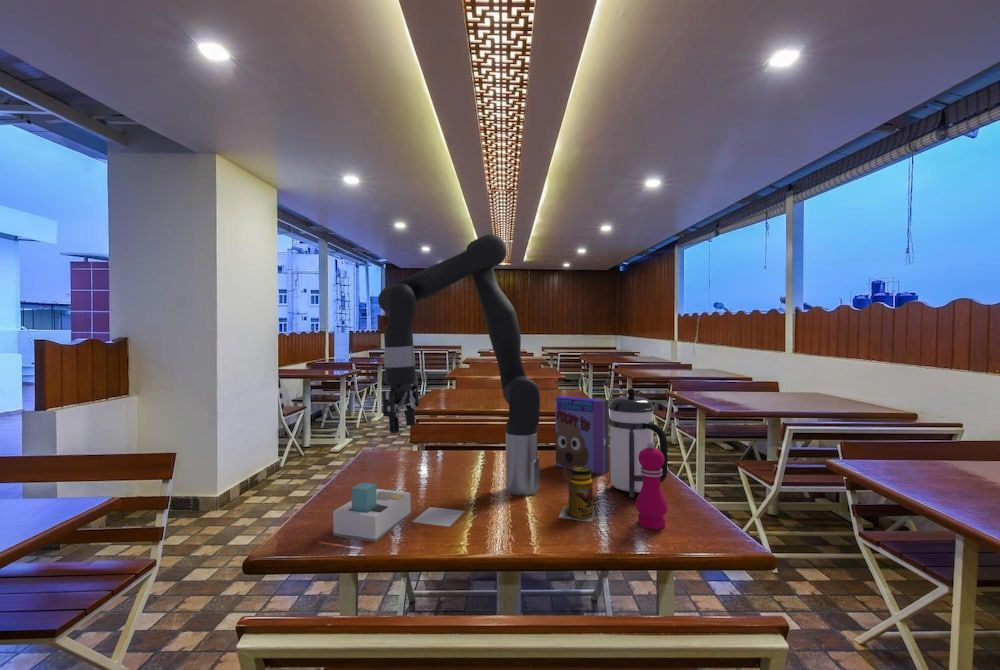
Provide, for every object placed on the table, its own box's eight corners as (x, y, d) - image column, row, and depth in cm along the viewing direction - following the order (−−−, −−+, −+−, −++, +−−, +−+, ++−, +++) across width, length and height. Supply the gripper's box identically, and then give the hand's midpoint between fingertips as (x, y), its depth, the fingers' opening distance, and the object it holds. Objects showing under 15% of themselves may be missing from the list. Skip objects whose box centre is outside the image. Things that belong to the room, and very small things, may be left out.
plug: (376, 526, 109) (376, 484, 109) (367, 533, 106) (366, 489, 105) (361, 524, 111) (361, 482, 110) (351, 531, 107) (351, 487, 107)
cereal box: (555, 466, 161) (555, 397, 160) (562, 463, 164) (561, 395, 164) (603, 474, 151) (603, 401, 150) (608, 471, 154) (608, 399, 154)
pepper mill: (663, 533, 107) (663, 446, 107) (632, 526, 111) (631, 442, 111) (670, 522, 113) (670, 440, 113) (640, 516, 117) (640, 436, 117)
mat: (464, 512, 120) (464, 511, 120) (449, 528, 110) (449, 526, 110) (429, 508, 123) (429, 506, 123) (411, 523, 113) (411, 521, 113)
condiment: (592, 522, 113) (592, 473, 113) (558, 518, 116) (558, 470, 116) (595, 511, 120) (595, 465, 120) (563, 507, 123) (562, 462, 123)
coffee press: (601, 498, 129) (601, 391, 129) (608, 480, 144) (608, 384, 144) (667, 505, 124) (667, 393, 123) (667, 486, 139) (667, 386, 138)
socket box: (410, 516, 118) (410, 491, 118) (375, 543, 103) (375, 515, 102) (372, 511, 121) (372, 487, 121) (333, 537, 106) (333, 509, 106)
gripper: (399, 367, 108) (403, 436, 109) (425, 361, 122) (428, 423, 122) (371, 367, 110) (374, 435, 111) (400, 362, 124) (403, 422, 124)
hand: (403, 428), depth 116 cm, fingers open, 8 cm apart
